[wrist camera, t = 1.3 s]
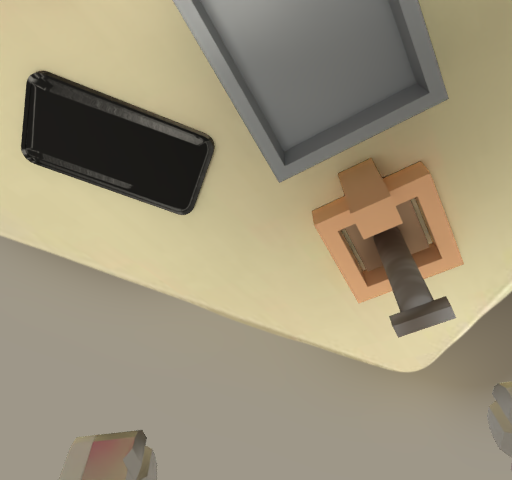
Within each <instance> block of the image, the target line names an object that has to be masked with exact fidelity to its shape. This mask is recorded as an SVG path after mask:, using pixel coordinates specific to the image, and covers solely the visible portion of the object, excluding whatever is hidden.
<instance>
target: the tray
mask: <svg viewBox="0 0 512 480" xmlns="http://www.w3.org/2000/svg"><path fill="white" fill-rule="evenodd" d="M173 2H174V3H175V5H176V7H177V9H178V10H179V12H180V14H181V15H182V17H183V19H184V21H185V22H186V24H187V26H188V27H189V29H190V31H191V32H192V34H193V36H194V38H195V39H196V41H197V43H198V44H199V46H200V48H201V50H202V51H203V53H204V55H205V56H206V58H207V60H208V62H209V63H210V65H211V67H212V68H213V70H214V72H215V74H216V75H217V77H218V79H219V80H220V82H221V84H222V86H223V87H224V89H225V91H226V92H227V94H228V96H229V98H230V99H231V101H232V103H233V104H234V106H235V108H236V110H237V111H238V113H239V115H240V116H241V118H242V120H243V122H244V123H245V125H246V127H247V128H248V130H249V132H250V134H251V135H252V137H253V139H254V140H255V142H256V144H257V146H258V147H259V149H260V151H261V152H262V154H263V156H264V158H265V159H266V161H267V163H268V164H269V166H270V168H271V170H272V171H273V173H274V175H275V176H276V178H277V180H278V182H279V183H280V182H282V181H284V180H286V179H288V178H290V177H292V176H294V175H296V174H298V173H300V172H302V171H304V170H306V169H308V168H310V167H312V166H314V165H316V164H318V163H320V162H322V161H324V160H326V159H328V158H330V157H332V156H334V155H336V154H338V153H340V152H342V151H344V150H346V149H348V148H350V147H352V146H354V145H356V144H358V143H360V142H362V141H364V140H367V139H369V138H371V137H373V136H375V135H377V134H379V133H381V132H383V131H385V130H387V129H389V128H391V127H393V126H395V125H397V124H399V123H401V122H403V121H405V120H407V119H409V118H411V117H413V116H415V115H417V114H419V113H421V112H423V111H425V110H427V109H429V108H431V107H433V106H435V105H437V104H439V103H441V102H443V101H445V100H447V99H449V98H448V95H447V92H446V88H445V85H444V82H443V79H442V76H441V72H440V69H439V66H438V63H437V60H436V56H435V53H434V50H433V47H432V44H431V40H430V37H429V34H428V31H427V28H426V24H425V21H424V18H423V15H422V12H421V8H420V5H419V2H418V0H173Z"/></svg>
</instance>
